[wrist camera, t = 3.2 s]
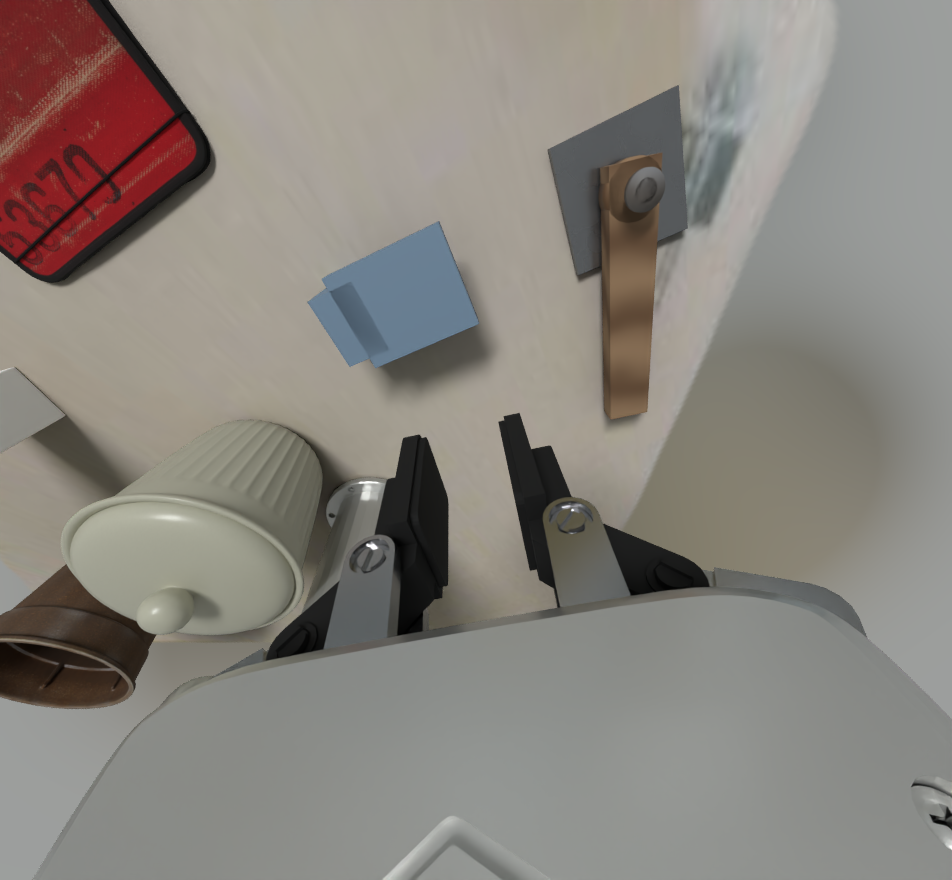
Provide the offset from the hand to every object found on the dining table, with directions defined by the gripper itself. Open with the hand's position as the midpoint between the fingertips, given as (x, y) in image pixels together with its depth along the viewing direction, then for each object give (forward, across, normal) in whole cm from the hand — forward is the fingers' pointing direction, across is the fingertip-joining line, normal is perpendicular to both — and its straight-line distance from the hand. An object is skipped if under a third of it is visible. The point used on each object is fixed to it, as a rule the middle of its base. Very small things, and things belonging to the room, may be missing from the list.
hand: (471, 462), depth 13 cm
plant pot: (+27, +52, +26) cm, 64 cm away
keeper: (+27, +5, -1) cm, 28 cm away
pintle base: (+27, -15, -5) cm, 32 cm away
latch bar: (+26, -15, +5) cm, 31 cm away
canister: (+27, +27, +14) cm, 41 cm away
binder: (+28, +28, -18) cm, 43 cm away
